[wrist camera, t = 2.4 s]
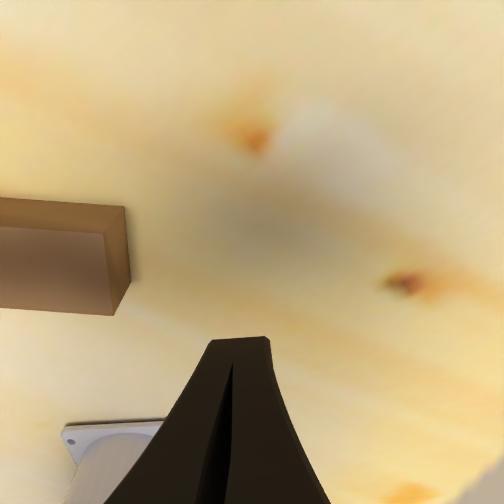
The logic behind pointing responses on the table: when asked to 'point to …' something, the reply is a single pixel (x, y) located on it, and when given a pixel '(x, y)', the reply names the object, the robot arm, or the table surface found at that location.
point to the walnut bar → (62, 256)
